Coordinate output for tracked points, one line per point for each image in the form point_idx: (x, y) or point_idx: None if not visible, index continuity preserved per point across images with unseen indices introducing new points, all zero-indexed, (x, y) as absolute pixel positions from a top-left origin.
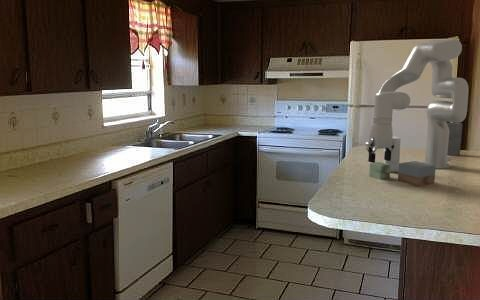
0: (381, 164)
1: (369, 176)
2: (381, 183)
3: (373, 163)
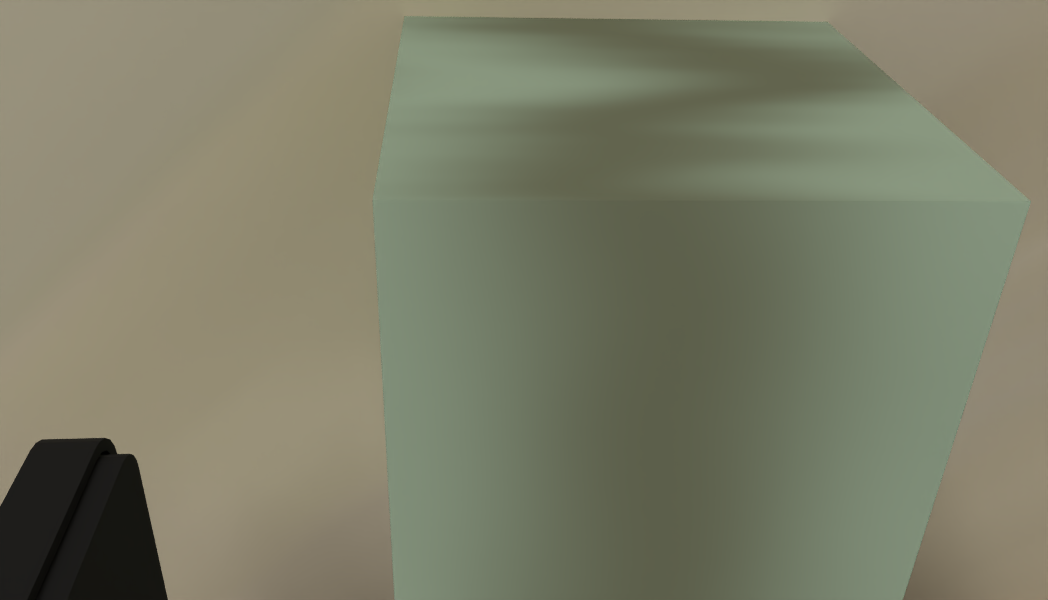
0: (600, 550)
1: (405, 25)
2: None
3: (478, 307)
